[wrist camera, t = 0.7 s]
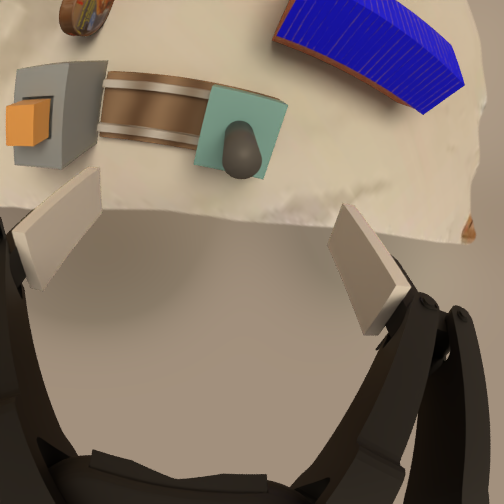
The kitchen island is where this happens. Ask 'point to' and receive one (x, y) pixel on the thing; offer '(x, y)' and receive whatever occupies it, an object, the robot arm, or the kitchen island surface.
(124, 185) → the kitchen island surface
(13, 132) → the button
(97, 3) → the tin
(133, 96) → the rail bed
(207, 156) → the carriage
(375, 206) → the kitchen island surface
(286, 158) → the kitchen island surface
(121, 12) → the kitchen island surface
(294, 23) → the house
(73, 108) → the cabinet
